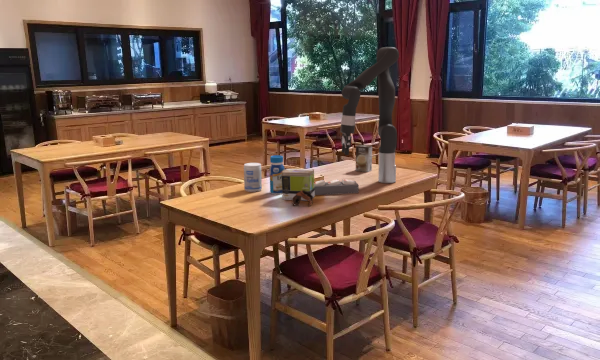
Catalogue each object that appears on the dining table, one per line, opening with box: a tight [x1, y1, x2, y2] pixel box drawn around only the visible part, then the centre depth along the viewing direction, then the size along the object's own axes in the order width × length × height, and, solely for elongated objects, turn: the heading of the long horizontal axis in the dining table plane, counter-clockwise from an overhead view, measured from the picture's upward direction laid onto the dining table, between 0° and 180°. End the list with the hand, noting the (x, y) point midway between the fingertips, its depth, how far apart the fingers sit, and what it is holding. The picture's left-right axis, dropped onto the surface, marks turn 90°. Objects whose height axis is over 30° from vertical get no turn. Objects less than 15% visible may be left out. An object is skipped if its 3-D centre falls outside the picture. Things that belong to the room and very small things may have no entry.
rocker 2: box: [326, 179, 341, 185], centre depth 268 cm, size 6×4×2 cm
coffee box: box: [355, 144, 373, 173], centre depth 319 cm, size 9×6×16 cm
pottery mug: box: [291, 190, 314, 207], centre depth 245 cm, size 12×10×8 cm
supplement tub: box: [243, 162, 263, 193], centre depth 275 cm, size 10×10×15 cm
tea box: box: [281, 168, 316, 202], centre depth 257 cm, size 15×10×15 cm, turn 74°
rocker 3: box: [341, 178, 355, 185], centre depth 269 cm, size 6×4×2 cm
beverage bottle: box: [268, 154, 286, 195], centre depth 268 cm, size 8×8×20 cm
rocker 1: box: [314, 179, 326, 186], centre depth 268 cm, size 6×4×2 cm
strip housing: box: [315, 180, 360, 196], centre depth 269 cm, size 25×9×4 cm, turn 96°
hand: (345, 153), depth 273 cm, fingers open, 8 cm apart
